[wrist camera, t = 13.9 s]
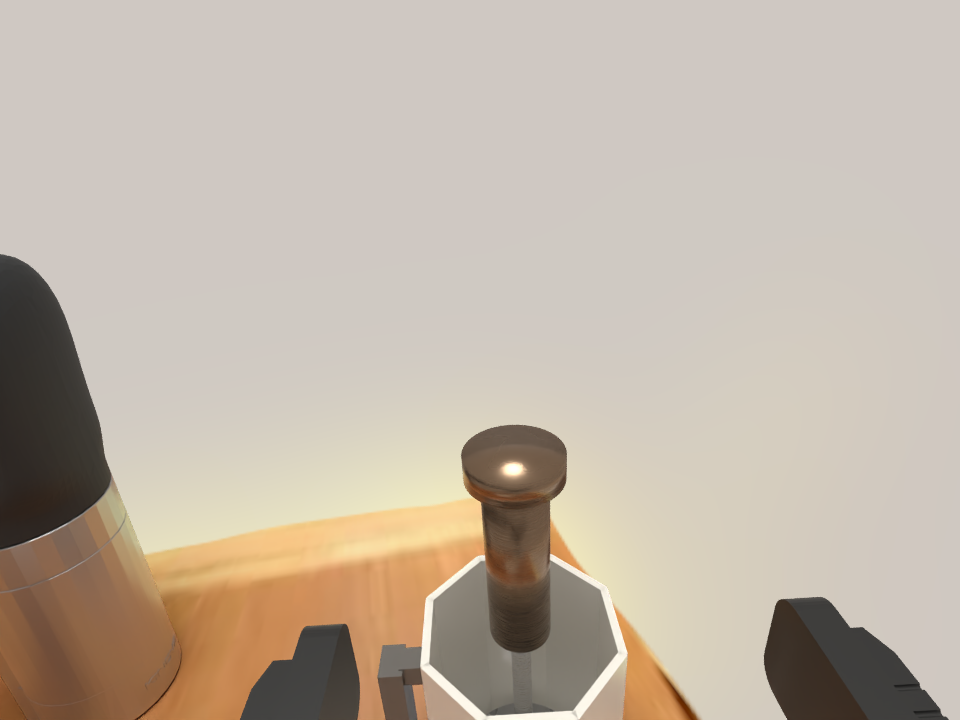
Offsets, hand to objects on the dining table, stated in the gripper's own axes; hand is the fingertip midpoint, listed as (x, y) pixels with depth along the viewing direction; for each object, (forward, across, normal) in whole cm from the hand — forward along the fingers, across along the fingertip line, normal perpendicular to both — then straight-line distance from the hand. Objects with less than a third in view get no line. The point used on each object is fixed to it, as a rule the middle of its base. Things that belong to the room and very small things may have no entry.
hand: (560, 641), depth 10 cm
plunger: (+12, 0, +26) cm, 29 cm away
